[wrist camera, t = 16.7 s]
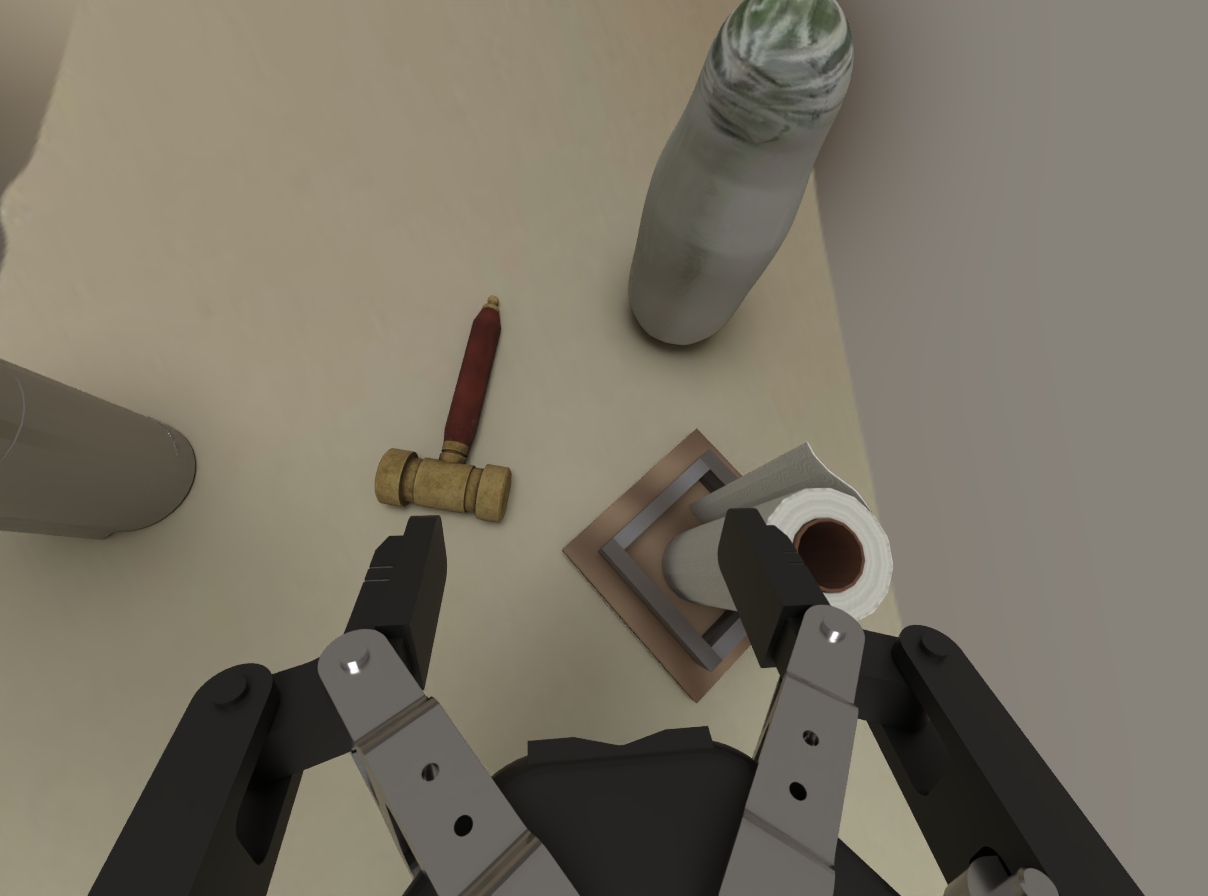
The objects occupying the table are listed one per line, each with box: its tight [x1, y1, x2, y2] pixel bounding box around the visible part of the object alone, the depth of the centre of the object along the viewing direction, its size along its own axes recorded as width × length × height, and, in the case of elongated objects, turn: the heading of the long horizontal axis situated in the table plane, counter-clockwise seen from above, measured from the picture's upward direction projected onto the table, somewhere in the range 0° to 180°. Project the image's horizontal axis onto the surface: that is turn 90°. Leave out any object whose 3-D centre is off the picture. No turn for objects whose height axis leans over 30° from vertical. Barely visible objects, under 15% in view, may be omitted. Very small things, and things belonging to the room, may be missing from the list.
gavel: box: [375, 296, 511, 522], centre depth 45 cm, size 21×5×10 cm
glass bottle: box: [628, 0, 854, 345], centre depth 37 cm, size 10×10×28 cm
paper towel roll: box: [662, 442, 893, 622], centre depth 32 cm, size 7×6×21 cm
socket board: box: [562, 429, 751, 703], centre depth 42 cm, size 16×16×6 cm
